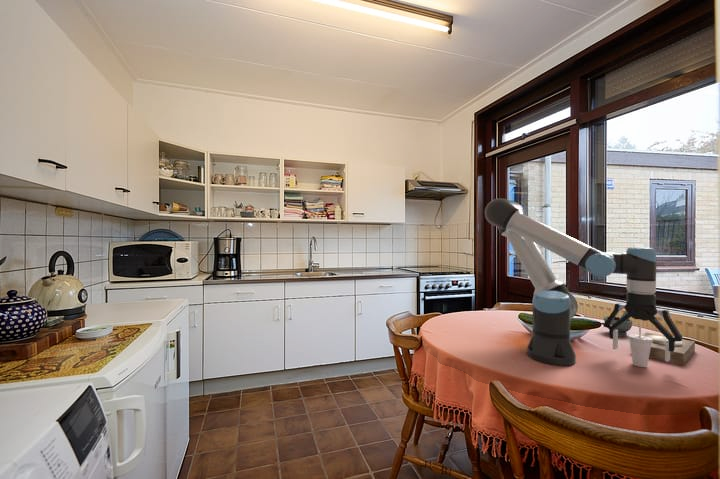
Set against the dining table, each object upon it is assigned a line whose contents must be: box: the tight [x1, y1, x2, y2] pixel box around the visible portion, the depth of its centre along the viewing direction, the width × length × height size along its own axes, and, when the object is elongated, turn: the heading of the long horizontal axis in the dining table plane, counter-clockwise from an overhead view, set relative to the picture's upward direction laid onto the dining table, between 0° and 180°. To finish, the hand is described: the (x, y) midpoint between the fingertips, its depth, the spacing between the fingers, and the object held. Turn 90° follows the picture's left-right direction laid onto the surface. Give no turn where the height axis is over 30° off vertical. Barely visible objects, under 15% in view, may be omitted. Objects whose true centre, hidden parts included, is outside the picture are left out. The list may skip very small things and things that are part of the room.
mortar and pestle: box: [603, 310, 633, 337], centre depth 142 cm, size 11×9×12 cm
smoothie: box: [627, 323, 653, 368], centre depth 107 cm, size 6×6×14 cm
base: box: [642, 332, 696, 366], centre depth 120 cm, size 14×22×5 cm, turn 126°
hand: (640, 354), depth 108 cm, fingers open, 13 cm apart
